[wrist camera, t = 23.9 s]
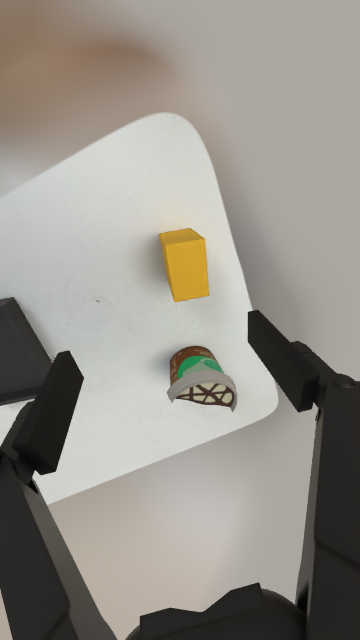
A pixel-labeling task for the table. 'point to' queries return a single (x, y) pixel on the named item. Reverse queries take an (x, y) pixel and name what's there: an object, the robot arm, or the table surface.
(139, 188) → the table surface
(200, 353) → the food container
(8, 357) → the black shallow rectangular tray
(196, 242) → the yellow block
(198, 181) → the table surface
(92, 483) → the table surface
